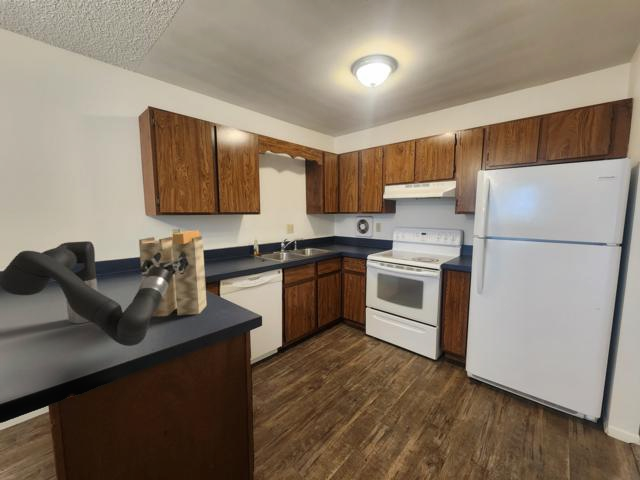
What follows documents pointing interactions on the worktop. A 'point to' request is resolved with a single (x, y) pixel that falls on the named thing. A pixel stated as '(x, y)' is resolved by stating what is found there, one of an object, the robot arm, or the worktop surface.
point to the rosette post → (148, 252)
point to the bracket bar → (185, 237)
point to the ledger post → (190, 278)
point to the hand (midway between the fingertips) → (171, 253)
